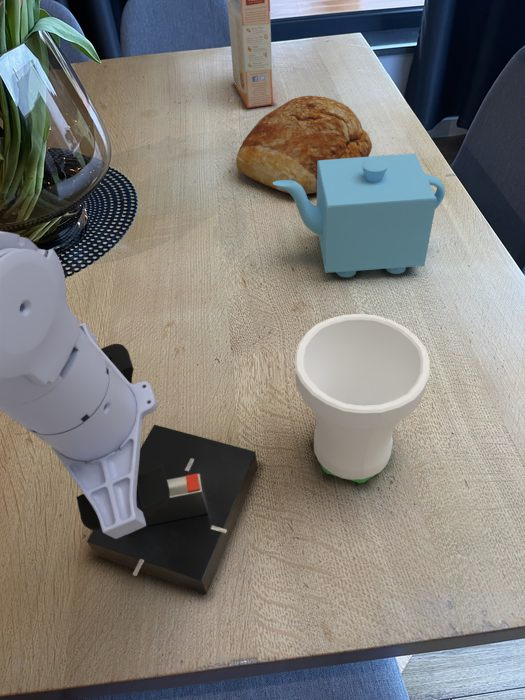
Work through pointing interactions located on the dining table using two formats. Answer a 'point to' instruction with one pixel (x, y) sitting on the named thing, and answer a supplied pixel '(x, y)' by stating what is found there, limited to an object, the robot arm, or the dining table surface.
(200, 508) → the red-topped metal block
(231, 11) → the cracker box
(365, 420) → the cup
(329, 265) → the teapot
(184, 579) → the switch base
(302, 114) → the bread
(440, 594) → the dining table surface
